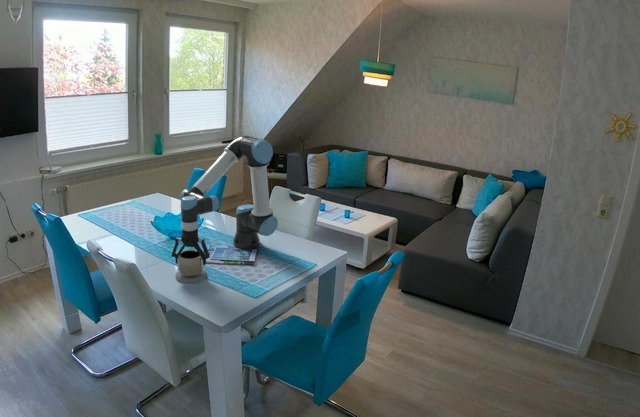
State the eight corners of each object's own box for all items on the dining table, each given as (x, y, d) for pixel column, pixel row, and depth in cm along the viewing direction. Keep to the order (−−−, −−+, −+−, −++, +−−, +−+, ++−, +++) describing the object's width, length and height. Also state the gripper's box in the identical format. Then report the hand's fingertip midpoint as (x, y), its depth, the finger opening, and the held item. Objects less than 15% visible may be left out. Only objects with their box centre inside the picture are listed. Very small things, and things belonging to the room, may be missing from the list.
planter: (193, 265, 254) (192, 247, 251) (206, 272, 247) (206, 254, 244) (175, 271, 246) (174, 254, 243) (188, 279, 239) (188, 261, 236)
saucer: (209, 270, 255) (209, 268, 254) (203, 284, 240) (203, 282, 240) (180, 268, 254) (180, 267, 254) (171, 282, 240) (171, 280, 240)
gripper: (215, 226, 243) (216, 267, 250) (167, 224, 242) (169, 265, 250) (212, 232, 236) (213, 274, 243) (163, 230, 235) (165, 272, 243)
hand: (191, 270), depth 246 cm, fingers closed on planter, 11 cm apart
